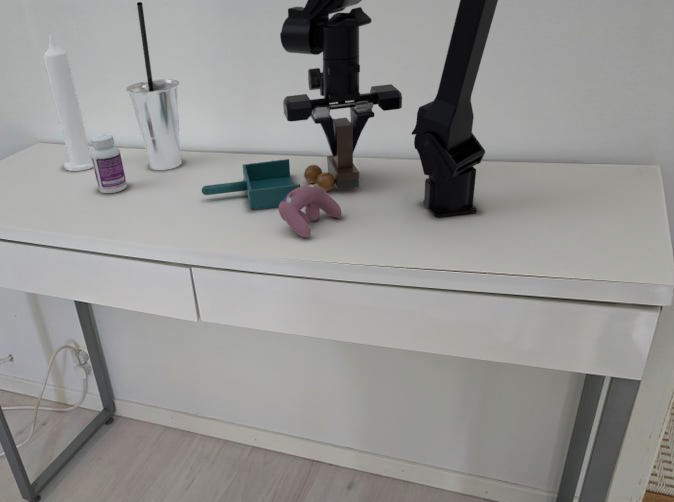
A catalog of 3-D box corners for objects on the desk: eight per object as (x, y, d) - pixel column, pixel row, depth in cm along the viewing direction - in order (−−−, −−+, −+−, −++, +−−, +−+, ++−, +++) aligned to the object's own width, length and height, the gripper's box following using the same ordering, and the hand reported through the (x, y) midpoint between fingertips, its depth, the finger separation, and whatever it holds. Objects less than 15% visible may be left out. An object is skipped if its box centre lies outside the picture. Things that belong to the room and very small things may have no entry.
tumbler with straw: (168, 178, 128) (139, 2, 111) (128, 170, 134) (94, 3, 117) (205, 161, 134) (182, -7, 118) (165, 154, 140) (138, -7, 124)
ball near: (333, 186, 116) (332, 168, 114) (337, 193, 114) (336, 174, 112) (315, 188, 116) (314, 170, 114) (318, 195, 113) (317, 176, 112)
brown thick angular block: (347, 168, 121) (346, 113, 115) (359, 188, 112) (359, 129, 107) (327, 171, 121) (325, 115, 115) (338, 190, 112) (337, 131, 107)
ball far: (320, 178, 120) (320, 161, 118) (324, 184, 117) (323, 167, 115) (303, 181, 120) (302, 163, 118) (306, 187, 117) (305, 169, 115)
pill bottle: (133, 185, 126) (123, 134, 121) (113, 195, 122) (102, 142, 117) (112, 182, 129) (101, 131, 123) (93, 191, 125) (80, 140, 120)
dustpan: (289, 176, 122) (288, 158, 120) (301, 204, 111) (300, 185, 109) (201, 187, 122) (199, 169, 120) (204, 216, 110) (201, 196, 108)
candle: (63, 163, 141) (30, 35, 127) (96, 157, 143) (67, 29, 129) (66, 173, 136) (31, 39, 122) (100, 167, 137) (70, 34, 123)
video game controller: (324, 221, 108) (307, 181, 106) (345, 214, 104) (328, 172, 102) (288, 245, 102) (268, 202, 100) (309, 238, 98) (289, 193, 96)
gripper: (386, 41, 112) (384, 135, 121) (276, 54, 112) (282, 147, 120) (404, 53, 103) (401, 153, 112) (284, 67, 102) (290, 166, 111)
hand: (342, 154), depth 114 cm, fingers closed on brown thick angular block, 3 cm apart
